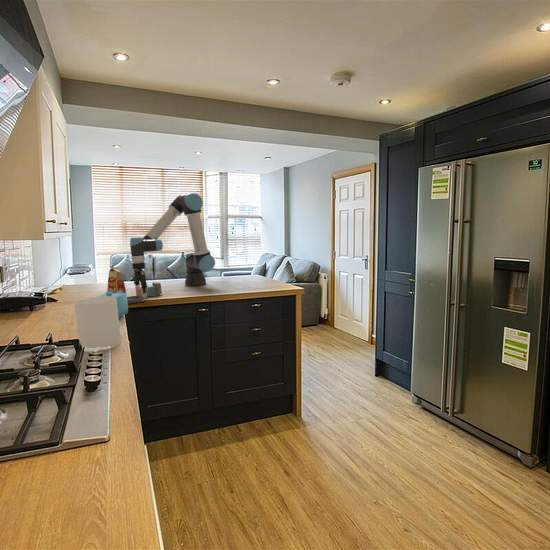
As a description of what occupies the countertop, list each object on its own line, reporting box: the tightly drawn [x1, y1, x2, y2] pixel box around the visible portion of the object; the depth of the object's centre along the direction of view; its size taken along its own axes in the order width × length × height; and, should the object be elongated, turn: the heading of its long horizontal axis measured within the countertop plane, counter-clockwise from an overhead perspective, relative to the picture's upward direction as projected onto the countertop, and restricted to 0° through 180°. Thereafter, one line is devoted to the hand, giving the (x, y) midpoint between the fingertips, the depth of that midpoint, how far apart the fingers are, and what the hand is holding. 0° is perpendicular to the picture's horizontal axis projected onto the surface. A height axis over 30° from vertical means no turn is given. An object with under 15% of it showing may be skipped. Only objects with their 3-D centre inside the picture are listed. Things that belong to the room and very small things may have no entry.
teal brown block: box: [146, 281, 163, 297], centre depth 246 cm, size 9×7×8 cm
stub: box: [135, 286, 147, 296], centre depth 241 cm, size 5×5×6 cm
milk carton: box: [106, 266, 127, 293], centre depth 242 cm, size 9×9×20 cm
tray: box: [127, 294, 145, 305], centre depth 229 cm, size 10×10×2 cm
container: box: [74, 296, 122, 349], centre depth 149 cm, size 14×14×18 cm
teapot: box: [96, 290, 129, 319], centre depth 190 cm, size 22×11×14 cm, turn 175°
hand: (141, 296), depth 242 cm, fingers open, 12 cm apart
